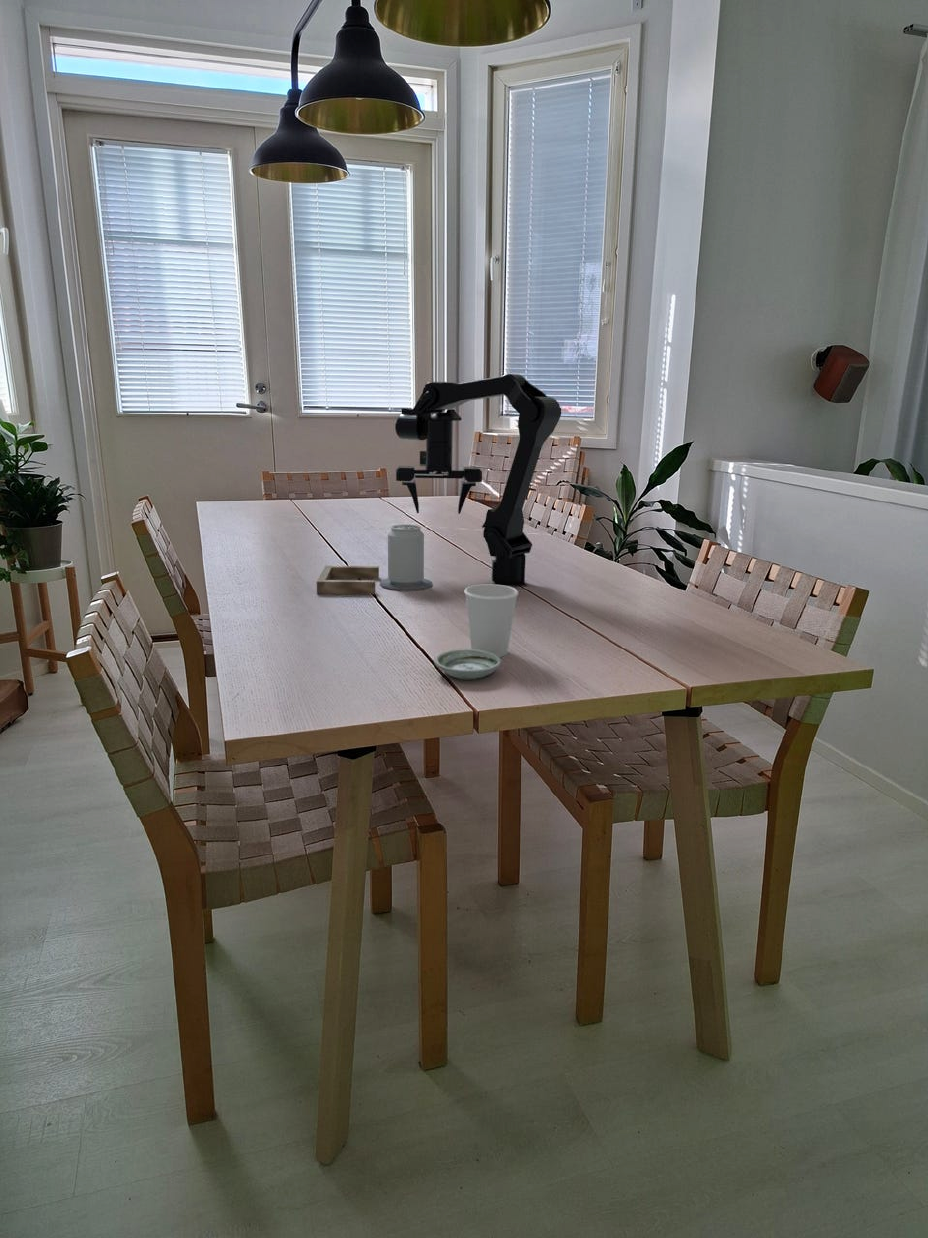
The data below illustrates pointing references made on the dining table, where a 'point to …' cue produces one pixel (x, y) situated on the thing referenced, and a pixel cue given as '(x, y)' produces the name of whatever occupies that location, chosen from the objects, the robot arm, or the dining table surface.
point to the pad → (422, 585)
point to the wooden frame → (347, 586)
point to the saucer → (467, 663)
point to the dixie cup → (490, 616)
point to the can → (405, 555)
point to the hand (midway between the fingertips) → (438, 513)
